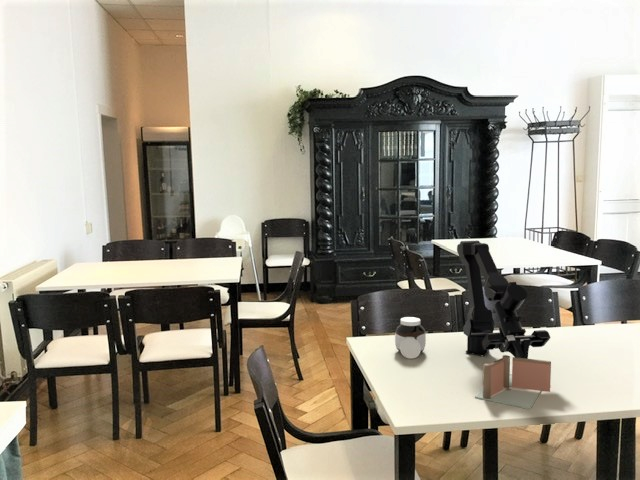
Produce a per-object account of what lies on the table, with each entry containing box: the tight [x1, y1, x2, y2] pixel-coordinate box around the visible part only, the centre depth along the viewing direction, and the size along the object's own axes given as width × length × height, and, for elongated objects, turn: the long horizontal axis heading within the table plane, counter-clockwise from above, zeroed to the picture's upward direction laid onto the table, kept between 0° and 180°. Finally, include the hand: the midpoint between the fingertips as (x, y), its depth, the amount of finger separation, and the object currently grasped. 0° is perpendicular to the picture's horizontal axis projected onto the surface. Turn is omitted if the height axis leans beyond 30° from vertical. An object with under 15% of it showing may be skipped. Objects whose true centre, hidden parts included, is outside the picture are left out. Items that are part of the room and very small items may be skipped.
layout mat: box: [474, 373, 542, 410], centre depth 151 cm, size 14×22×1 cm, turn 147°
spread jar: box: [394, 316, 427, 360], centre depth 183 cm, size 12×11×12 cm
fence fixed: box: [482, 358, 512, 399], centre depth 149 cm, size 6×13×10 cm, turn 147°
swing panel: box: [501, 354, 552, 393], centre depth 150 cm, size 13×2×9 cm, turn 67°
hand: (525, 366), depth 151 cm, fingers closed
